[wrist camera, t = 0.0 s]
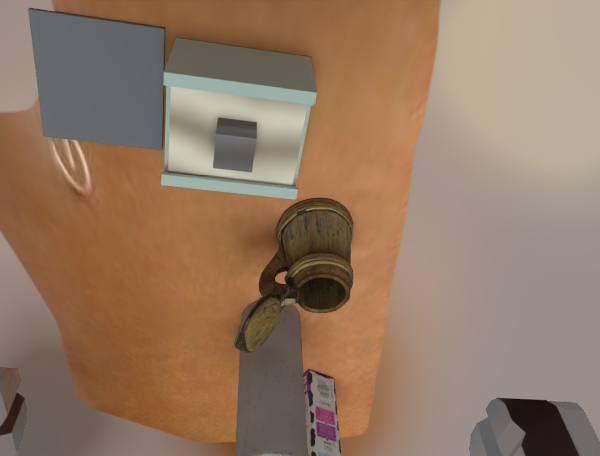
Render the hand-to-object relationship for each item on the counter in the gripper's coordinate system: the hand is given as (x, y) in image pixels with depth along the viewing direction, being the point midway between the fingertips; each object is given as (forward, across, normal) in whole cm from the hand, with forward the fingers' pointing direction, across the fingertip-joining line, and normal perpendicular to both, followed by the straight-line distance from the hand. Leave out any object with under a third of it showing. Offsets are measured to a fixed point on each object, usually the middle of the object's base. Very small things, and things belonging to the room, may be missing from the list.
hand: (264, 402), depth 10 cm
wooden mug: (+48, -8, +33) cm, 59 cm away
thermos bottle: (+48, -7, +49) cm, 69 cm away
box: (+48, 0, +18) cm, 51 cm away
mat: (+48, +14, +18) cm, 53 cm away
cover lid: (+42, 0, +18) cm, 46 cm away
